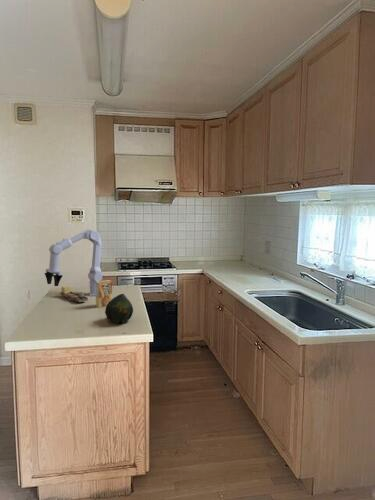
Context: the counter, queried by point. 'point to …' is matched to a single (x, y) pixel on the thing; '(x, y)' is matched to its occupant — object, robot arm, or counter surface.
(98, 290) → the candy box
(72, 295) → the gnarled wood piece
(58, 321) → the counter surface
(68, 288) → the rider
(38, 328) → the counter surface
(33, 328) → the counter surface
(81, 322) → the counter surface
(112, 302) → the squash
